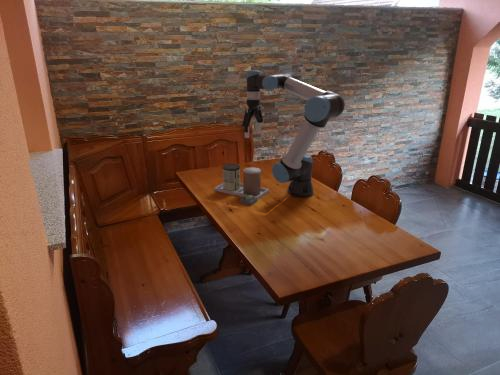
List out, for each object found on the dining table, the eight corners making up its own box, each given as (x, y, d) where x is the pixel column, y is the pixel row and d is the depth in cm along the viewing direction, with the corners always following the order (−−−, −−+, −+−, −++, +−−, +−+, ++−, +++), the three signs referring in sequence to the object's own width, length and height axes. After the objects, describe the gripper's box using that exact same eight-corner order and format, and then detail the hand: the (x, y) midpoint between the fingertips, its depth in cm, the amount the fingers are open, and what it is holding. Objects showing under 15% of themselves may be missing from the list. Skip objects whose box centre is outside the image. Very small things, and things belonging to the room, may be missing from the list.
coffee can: (223, 185, 225) (223, 163, 220) (240, 185, 225) (240, 163, 220) (222, 191, 216) (221, 168, 211) (239, 192, 215) (239, 169, 210)
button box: (257, 202, 203) (257, 197, 202) (251, 207, 198) (251, 201, 197) (246, 200, 207) (246, 195, 206) (240, 204, 201) (240, 199, 200)
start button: (253, 200, 202) (253, 195, 201) (250, 202, 199) (250, 197, 198) (247, 199, 204) (247, 194, 203) (243, 201, 201) (243, 196, 200)
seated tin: (263, 192, 216) (264, 169, 211) (255, 197, 207) (255, 174, 202) (248, 188, 220) (248, 166, 215) (239, 194, 212) (239, 171, 207)
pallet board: (269, 193, 217) (269, 189, 216) (256, 201, 205) (256, 197, 204) (228, 184, 230) (227, 180, 229) (214, 191, 218) (214, 187, 217)
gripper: (258, 96, 221) (257, 130, 229) (235, 100, 201) (236, 138, 208) (269, 96, 218) (268, 132, 225) (247, 101, 197) (247, 140, 205)
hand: (252, 135), depth 217 cm, fingers open, 13 cm apart
